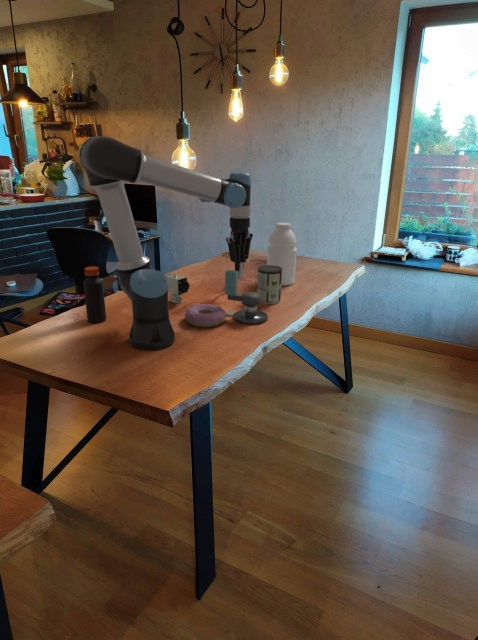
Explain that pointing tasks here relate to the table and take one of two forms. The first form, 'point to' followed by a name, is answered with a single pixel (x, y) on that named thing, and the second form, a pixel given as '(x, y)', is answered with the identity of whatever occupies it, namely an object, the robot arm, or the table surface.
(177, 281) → the security camera
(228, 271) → the teal grey l-shaped block
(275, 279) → the coffee can
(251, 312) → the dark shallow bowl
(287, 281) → the bottle
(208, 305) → the donut
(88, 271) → the bottle
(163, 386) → the table surface
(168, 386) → the table surface
